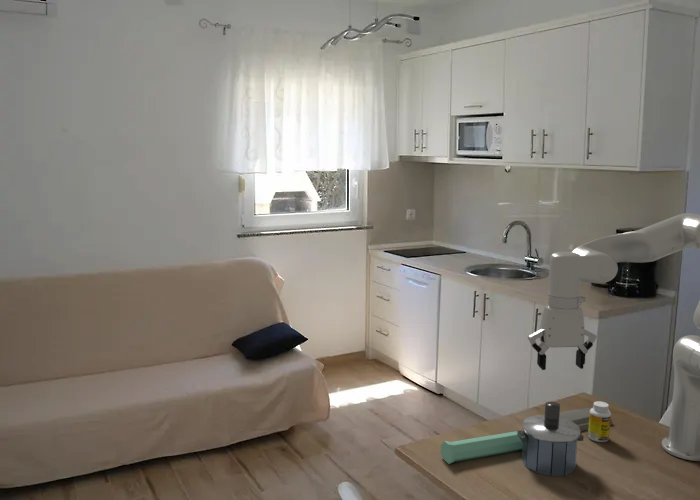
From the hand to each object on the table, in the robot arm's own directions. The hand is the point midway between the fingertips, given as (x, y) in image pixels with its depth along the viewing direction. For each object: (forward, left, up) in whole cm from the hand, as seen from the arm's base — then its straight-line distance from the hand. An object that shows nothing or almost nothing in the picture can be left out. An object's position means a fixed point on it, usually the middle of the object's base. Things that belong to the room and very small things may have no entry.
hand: (560, 367), depth 164 cm
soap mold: (-14, -22, -26) cm, 37 cm away
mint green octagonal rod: (+16, -5, -26) cm, 31 cm away
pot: (+2, +1, -26) cm, 26 cm away
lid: (+2, +1, -17) cm, 17 cm away
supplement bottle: (-17, -12, -26) cm, 33 cm away
